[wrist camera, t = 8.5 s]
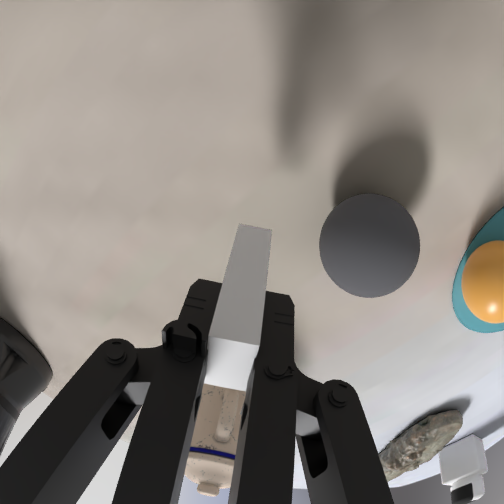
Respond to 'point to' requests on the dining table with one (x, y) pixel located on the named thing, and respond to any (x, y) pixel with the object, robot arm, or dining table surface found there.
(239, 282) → the robot arm
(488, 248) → the object ball
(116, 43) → the dining table surface
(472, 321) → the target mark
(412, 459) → the long grey stone
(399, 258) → the dark grey ball
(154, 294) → the dining table surface
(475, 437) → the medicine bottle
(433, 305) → the dining table surface
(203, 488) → the teacup with lid
